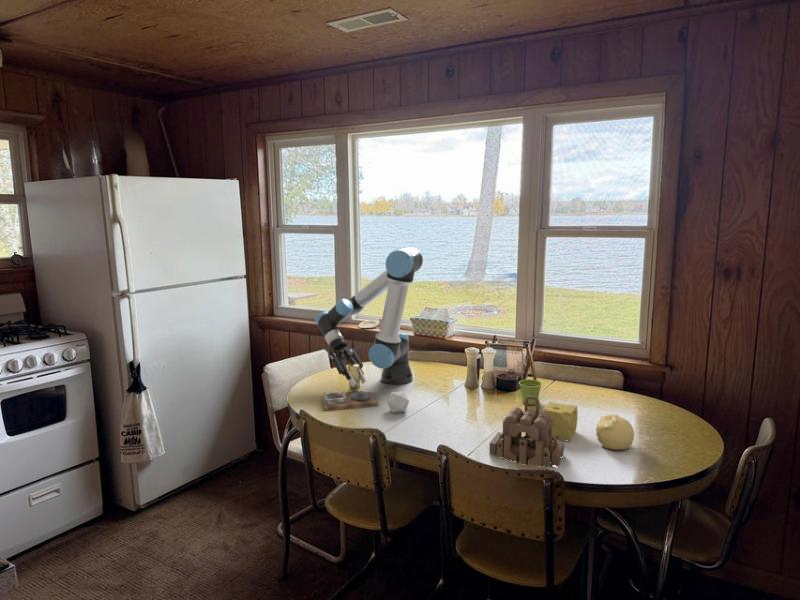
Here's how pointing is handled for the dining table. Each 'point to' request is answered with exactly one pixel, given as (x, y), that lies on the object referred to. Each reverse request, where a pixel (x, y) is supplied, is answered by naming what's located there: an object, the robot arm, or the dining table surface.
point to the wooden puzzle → (528, 437)
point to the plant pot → (530, 389)
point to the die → (398, 402)
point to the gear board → (348, 400)
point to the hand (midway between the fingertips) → (359, 383)
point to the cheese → (562, 419)
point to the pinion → (354, 376)
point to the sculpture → (615, 432)
